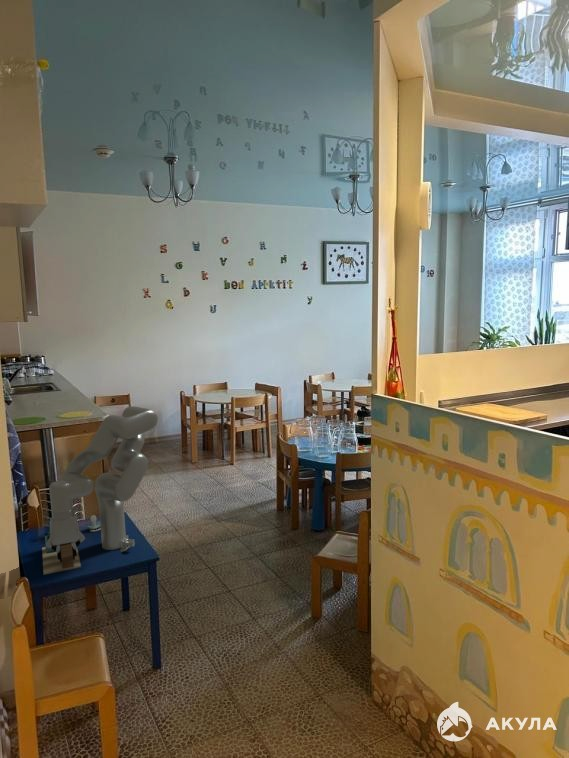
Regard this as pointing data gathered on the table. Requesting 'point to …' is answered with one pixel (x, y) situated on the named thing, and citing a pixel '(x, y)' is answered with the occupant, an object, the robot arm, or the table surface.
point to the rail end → (67, 555)
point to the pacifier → (94, 524)
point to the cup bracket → (48, 550)
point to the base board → (56, 562)
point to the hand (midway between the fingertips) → (67, 559)
